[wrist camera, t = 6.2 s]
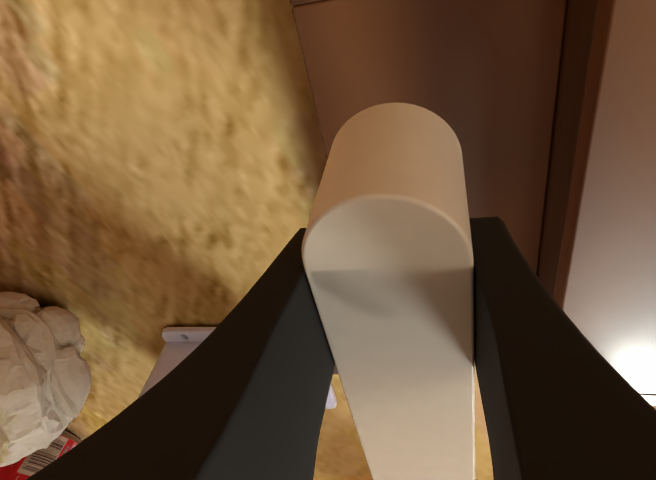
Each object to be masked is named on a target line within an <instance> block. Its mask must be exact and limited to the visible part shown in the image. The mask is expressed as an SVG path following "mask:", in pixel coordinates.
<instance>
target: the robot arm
mask: <svg viewBox="0 0 656 480" xmlns="http://www.w3.org/2000/svg"><path fill="white" fill-rule="evenodd" d="M469 222H470V231H471V240H472V249H473V258H474V260H473V261H474V360H475V366H476V371H477V377H478V382H479V388H480V393H481V399H482V404H483V410H484V415H485V421H486V426H487V431H488V437H489V444H490V451H491V458H492V466H493V477H494V480H656V409H655V408H653V407H652V406H651V405H650V404H649V403H648V402H647V401H646V400H645V399H644V398H643V397H642V396H641V395H640V394H639V393H638V392H637V391H636V390H635V389H634V388H633V387H632V386H631V385H630V384H629V383H628V382H627V381H626V380H625V379H624V378H623V377H622V376H621V375H620V374H619V373H618V372H617V371H616V370H615V369H614V368H613V367H612V366H611V365H610V364H609V363H608V362H607V360H606V359H605V358H604V357H603V356H602V355H601V354H600V353H599V352H598V351H597V350H596V348H595V347H594V346H593V345H592V344H591V343H590V342H589V341H588V339H587V338H586V337H585V336H584V335H583V334H582V333H581V331H580V330H579V329H578V328H577V327H576V325H575V324H574V323H573V322H572V321H571V320H570V318H569V317H568V316H567V315H566V313H565V312H564V311H563V310H562V308H561V307H560V306H559V305H558V303H557V302H556V301H555V300H554V298H553V297H552V296H551V294H550V293H549V292H548V290H547V289H546V288H545V286H544V285H543V283H542V282H541V281H540V279H539V278H538V277H537V275H536V274H535V273H534V271H533V270H532V268H531V267H530V265H529V264H528V262H527V261H526V259H525V258H524V256H523V255H522V253H521V251H520V250H519V248H518V247H517V245H516V243H515V242H514V240H513V238H512V237H511V235H510V233H509V231H508V229H507V227H506V225H505V223H504V221H503V220H502V219H500V218H499V217H498V216H497V217H480V218H469ZM305 231H306V228H300V229H299V231H298V232H297V233H296V234H295V235H294V237H293V238H292V239H291V240H290V241H289V243H288V244H287V245H286V246H285V248H284V249H283V250H282V251H281V253H280V254H279V255H278V256H277V258H276V259H275V260H274V261H273V263H272V264H271V265H270V266H269V268H268V269H267V270H266V271H265V273H264V274H263V275H262V276H261V277H260V279H259V280H258V281H257V282H256V283H255V285H254V286H253V287H252V288H251V289H250V291H249V292H248V293H247V294H246V295H245V296H244V298H243V299H242V300H241V301H240V302H239V303H238V305H237V306H236V307H235V308H234V309H233V310H232V311H231V312H230V313H229V314H228V315H227V316H226V318H225V319H224V320H223V321H222V322H221V323H220V324H219V325H218V326H217V327H166V328H164V329H163V331H162V333H161V335H162V337H163V339H164V340H165V342H166V344H165V346H164V348H163V350H162V352H161V354H160V356H159V358H158V360H157V362H156V364H155V366H154V368H153V370H152V371H151V373H150V375H149V377H148V379H147V381H146V383H145V385H144V387H143V389H142V391H141V393H140V395H139V397H138V399H137V400H136V401H134V402H133V403H132V404H131V405H130V406H128V407H127V408H126V409H125V410H123V411H122V412H121V413H120V414H118V415H117V416H116V417H115V418H113V419H112V420H111V421H109V422H108V423H107V424H105V425H104V426H102V427H101V428H100V429H98V430H97V431H96V432H94V433H93V434H92V435H90V436H89V437H88V438H86V439H85V440H83V441H82V442H80V443H79V444H78V445H76V446H75V447H73V448H72V449H70V450H69V451H68V452H66V453H65V454H63V455H62V456H60V457H59V458H58V459H56V460H55V461H53V462H52V463H50V464H49V465H47V466H46V467H44V468H43V469H41V470H40V471H38V472H36V473H35V474H33V475H32V476H30V477H29V478H27V479H25V480H313V476H314V468H315V460H316V451H317V446H318V440H319V434H320V429H321V424H322V420H323V415H324V411H325V409H333V408H335V407H336V405H337V399H336V396H335V393H334V390H333V387H332V385H331V379H332V375H333V370H334V366H335V362H334V359H333V356H332V353H331V349H330V346H329V343H328V340H327V337H326V334H325V331H324V328H323V325H322V322H321V319H320V315H319V312H318V309H317V306H316V303H315V300H314V297H313V294H312V291H311V288H310V285H309V282H308V278H307V275H306V272H305V268H304V265H303V260H302V251H301V249H302V241H303V238H304V235H305Z"/></svg>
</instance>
